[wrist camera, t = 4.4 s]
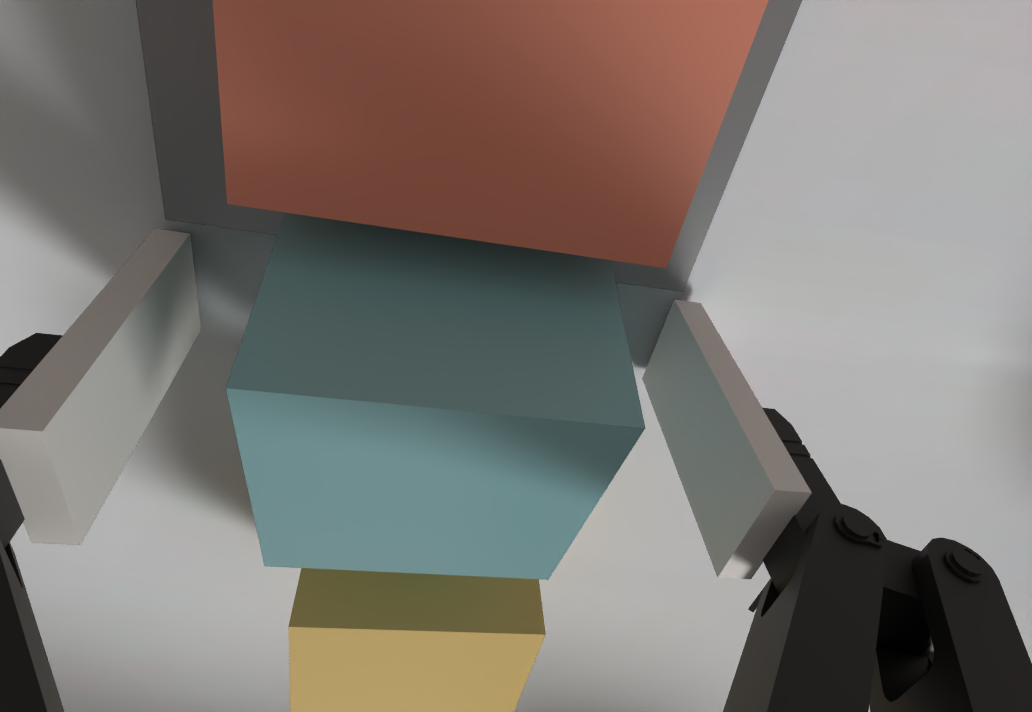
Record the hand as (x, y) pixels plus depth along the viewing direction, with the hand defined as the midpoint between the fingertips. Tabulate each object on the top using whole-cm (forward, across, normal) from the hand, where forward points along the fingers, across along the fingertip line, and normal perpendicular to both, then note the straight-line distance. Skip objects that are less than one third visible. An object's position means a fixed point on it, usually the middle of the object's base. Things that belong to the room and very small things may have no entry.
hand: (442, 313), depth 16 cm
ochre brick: (0, 0, +8) cm, 8 cm away
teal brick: (0, 0, -1) cm, 1 cm away
